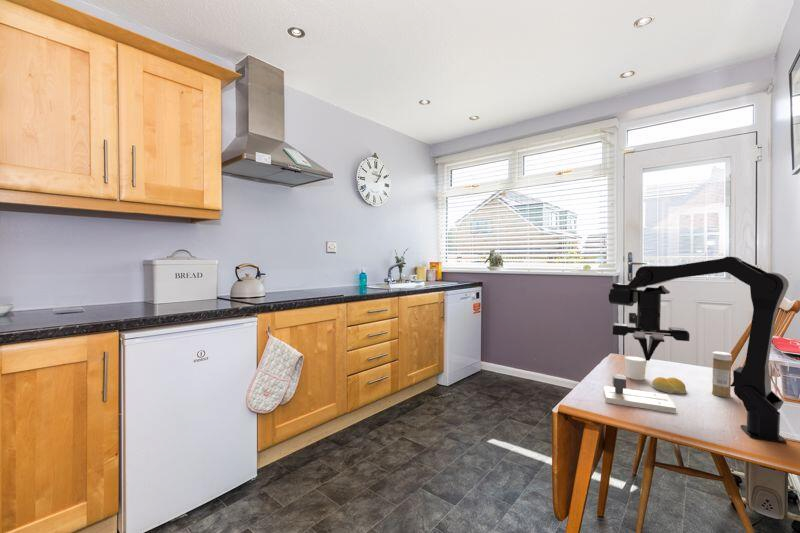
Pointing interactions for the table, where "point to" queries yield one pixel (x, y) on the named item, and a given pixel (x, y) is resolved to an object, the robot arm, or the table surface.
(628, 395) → the fader panel
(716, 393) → the sprinkles bottle
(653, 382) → the bread roll
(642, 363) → the white cup
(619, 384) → the fader knob
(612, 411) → the table surface
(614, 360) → the table surface
